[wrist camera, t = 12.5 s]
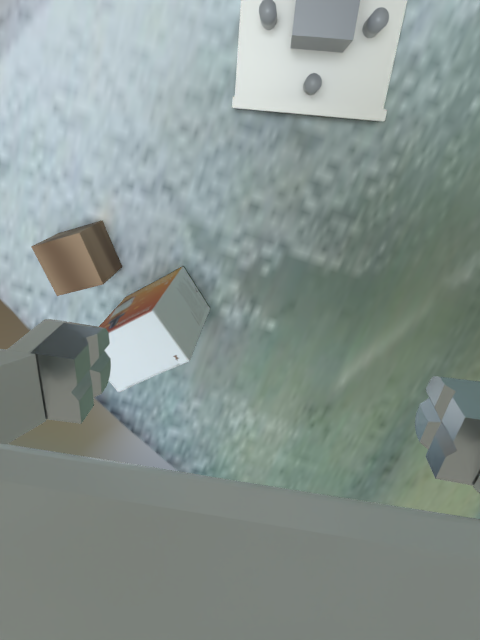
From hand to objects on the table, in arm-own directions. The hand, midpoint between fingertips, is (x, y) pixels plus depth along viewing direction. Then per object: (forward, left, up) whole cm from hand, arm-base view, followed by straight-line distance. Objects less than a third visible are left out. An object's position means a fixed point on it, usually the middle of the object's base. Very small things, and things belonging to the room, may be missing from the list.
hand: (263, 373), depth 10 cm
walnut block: (+18, +7, -29) cm, 35 cm away
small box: (+10, +12, -29) cm, 33 cm away
